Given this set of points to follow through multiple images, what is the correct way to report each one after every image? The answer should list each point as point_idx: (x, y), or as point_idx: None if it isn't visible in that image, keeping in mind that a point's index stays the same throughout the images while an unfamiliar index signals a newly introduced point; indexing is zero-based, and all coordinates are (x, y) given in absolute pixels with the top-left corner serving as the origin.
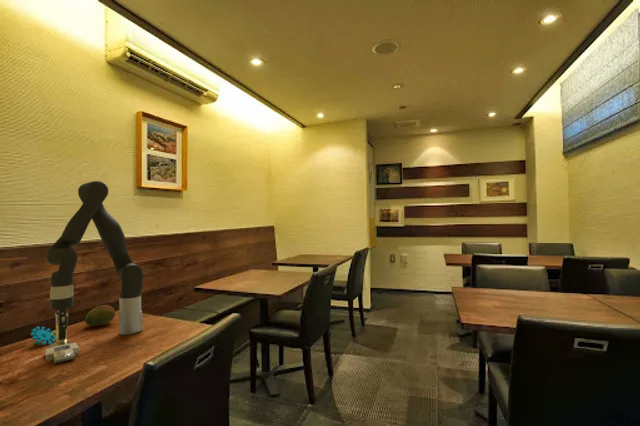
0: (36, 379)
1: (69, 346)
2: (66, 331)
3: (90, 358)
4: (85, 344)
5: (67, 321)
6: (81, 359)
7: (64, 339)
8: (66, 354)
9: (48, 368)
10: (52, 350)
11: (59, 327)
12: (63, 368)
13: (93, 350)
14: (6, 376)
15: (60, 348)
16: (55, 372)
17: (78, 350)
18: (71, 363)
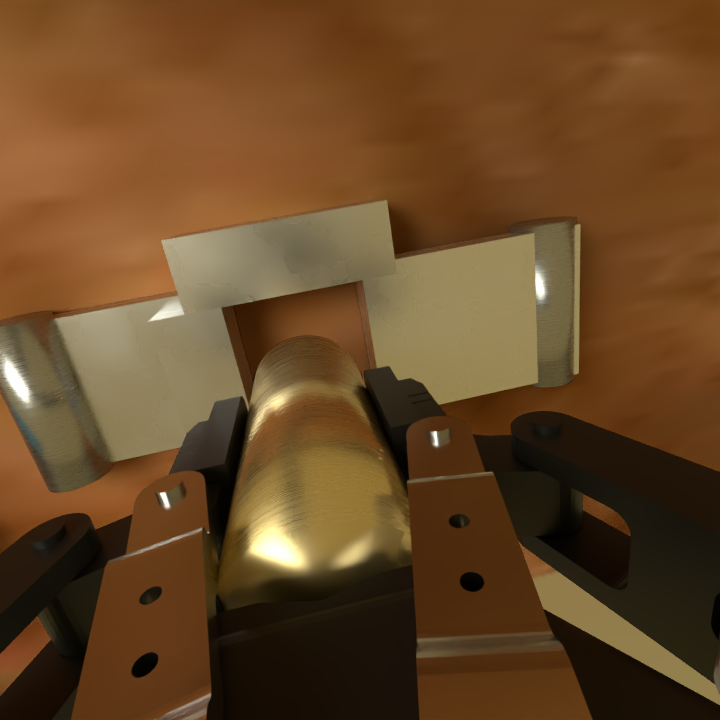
0: (715, 416)
1: (261, 298)
2: (336, 397)
3: (601, 81)
4: (88, 139)
5: (502, 499)
6: (566, 164)
7: (357, 373)
8: (562, 296)
9: (579, 385)
10: None
11: (628, 551)
12: (661, 287)
13: (376, 46)
14: (532, 574)
15: (245, 375)
16: (693, 329)
17: (378, 200)
18: (600, 240)
